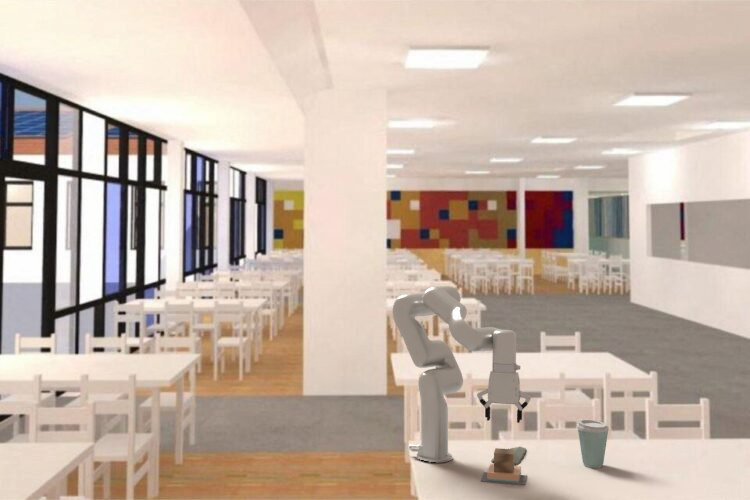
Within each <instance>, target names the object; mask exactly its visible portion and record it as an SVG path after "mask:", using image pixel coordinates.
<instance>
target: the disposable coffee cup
mask: <svg viewBox="0 0 750 500" xmlns="http://www.w3.org/2000/svg"><path fill="white" fill-rule="evenodd" d="M576 429H577V432H578V433H577V434H578V440H579V445H580V452H581V460H582V463H583V465H584V466H585V467H586V468H591V469H599V468H602V467H603V465H604V461H605V454H606V448H607V442H608V435H609V431H610V430H609V426H608V425H607V423H606V422H605V423H604V422H602V421H598V420H594V419H585V418H584V419H583V418H582V419H579V420H578V423H577V424H576Z"/></svg>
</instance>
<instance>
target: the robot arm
mask: <svg viewBox="0 0 750 500" xmlns="http://www.w3.org/2000/svg"><path fill="white" fill-rule="evenodd" d="M467 310H468V309H467V308H466V306H465V305H464V304H463V303H461V294H460V293H459V291H458V290H457V289H456V288H455V287H453V286H449V285H446V286H445V285H444V286H442V285H441V286H432V287H428V289H426V290H425V291H424V292H422V293H421V292H420V293H419V292H418V293H406V294H401V295H400V296H399V297H397V298H396V299H395V301H394V303H393V305H392V319H393V321H394V324H395V326H396V327H397V329H398V331H399V333H400V334H401V337H402V339H403V341H404V344H405V347H406V349H407V351H408V353H409V356H410V358H411V360H412V363H413V364H414V365H415V367H417V368H419V369H426V368H427V369H426V370H425V371H423V372H422V373H421V374H420V376H419V377H418V381H417V385H418V390H419V391H418V392H419V394H420V395H419V397H420V415H421V416H420V417H421V418H420V441H421V442H420V444H416V445H415V444H409V448H408V449H409V451H411V452H417V454H416V458H418V459H417V460H419V459H420V460H419V461H421V460H424V461H429V462H428V463H431V462H436V463H435V464H437V463H438V464H439V463H446V462H449V461H452V460H453V454H452V453H450V452H449V407H448V404H447V401H446V398H445V395H448V394H449V395H450V394H454V393H456V392H459V391H460V390H461V389H462V387H463V384H464V379H463V374H462V371H461V369H460V366H459V364H458V362H457V360H456V357H455V355H454V353H453V351H452V349H451V347H450V346H449V345H448V343H446V342H445V341H444V340H440V339H433V340H431V339H430V338H429V336H428V335H427V333H426V329H425V328H424V326H423V325H422V324H421V323H420V322H419V321H418V320H417V319H416V318H417V317H428V316H429V317H430V316H435V315H436V316H437V317H438V318H440V319H441V320H442V321H443V322H444V323H446V324H447V325H448V329H449V332H450V334H451V336H452V338H453V339H454V340H455V341H456V342H457V343H458V344H459V345H461V346H462V347H463V348H465V349H466V350H468V351H470V352H475V353H476V352H481V351H482V352H483V351H491V350H492V364H491V365H492V367H491V371H490V372H489V377H488V385H487V387H488V388H486V389H484V390H482V391H479V392H477V394H476V396H477V398H478V400H479V403H480V404H481V406H483V408H484V409H485V410H484V417H485V418H486V421H487V422H488V421H490V420H491V406H490V405H491V404H501V405H515V407H516V408H517V411H516V423H517V424H520V421H522V420H523V410H524V409H525V408H526V407H528V404H529V403H530V401H531V399H532V396H531V395H529V394H527V393H525V392H523V391H522V390H521V383H520V376H519V372H517V371H518V370H521V365H519V364H517V333H516V332H515V331H514V330H511V329H500V328H497V327H494V326H487V327H476V328H474V327H473V326H471V325H470V324H469V323H467V322H466V321H465V319H466V316H467ZM415 317H416V318H415ZM428 368H431V369H428ZM484 395H487V401H486V400H485V399H484V398H483V396H484ZM521 397H522V398H524V399H525V400H524V402H523V403H521V402H520V399H521ZM424 461H423V462H424Z"/></svg>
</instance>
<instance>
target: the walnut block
mask: <svg viewBox="0 0 750 500" xmlns="http://www.w3.org/2000/svg"><path fill="white" fill-rule="evenodd" d="M493 458H494V463H493V464H494V472H504V473H513V471H514V466H515V465H514V449H509V448H500V447H495V449H494V451H493Z"/></svg>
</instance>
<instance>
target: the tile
mask: <svg viewBox="0 0 750 500" xmlns="http://www.w3.org/2000/svg"><path fill="white" fill-rule="evenodd" d="M486 472H487V480H491V481H502V482H514V483H519V480H520V476H521V475H522V466H519V465H514V471H513V473H504V472H494V463H490V464H489V466H488V469H487V471H486Z"/></svg>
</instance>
